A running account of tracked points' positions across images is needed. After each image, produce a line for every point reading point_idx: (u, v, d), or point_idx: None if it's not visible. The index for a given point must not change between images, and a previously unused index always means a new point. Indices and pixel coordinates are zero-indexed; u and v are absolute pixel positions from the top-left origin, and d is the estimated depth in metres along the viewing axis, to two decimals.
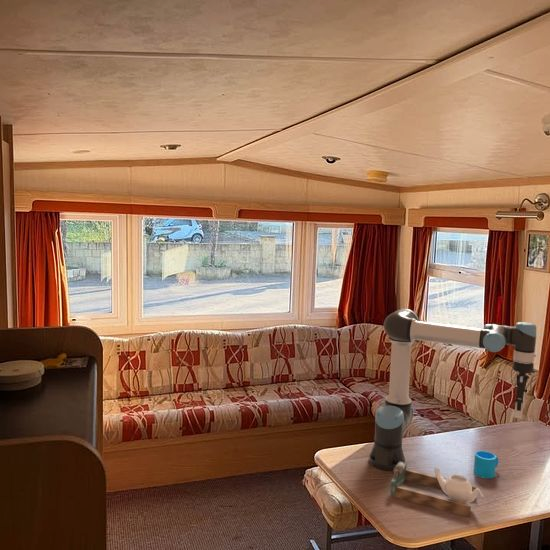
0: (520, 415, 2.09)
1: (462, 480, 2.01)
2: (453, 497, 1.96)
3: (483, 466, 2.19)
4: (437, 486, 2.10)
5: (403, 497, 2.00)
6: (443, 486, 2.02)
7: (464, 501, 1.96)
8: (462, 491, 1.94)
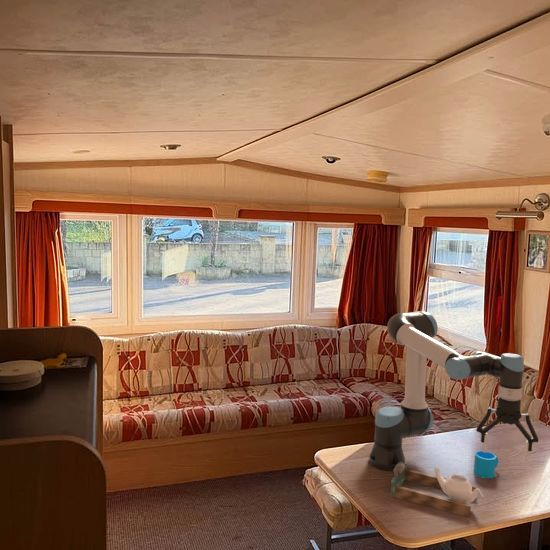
0: None
1: (462, 480, 2.01)
2: (453, 497, 1.96)
3: (483, 466, 2.19)
4: (437, 486, 2.10)
5: (403, 497, 2.00)
6: (443, 486, 2.02)
7: (464, 501, 1.96)
8: (462, 491, 1.94)
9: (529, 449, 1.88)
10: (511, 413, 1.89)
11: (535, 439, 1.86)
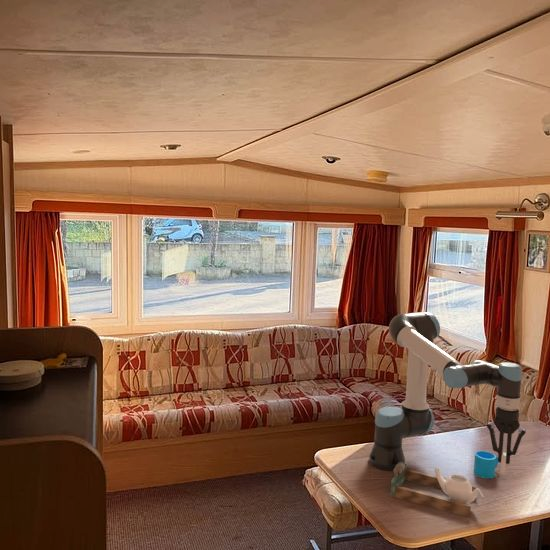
0: None
1: (462, 480, 2.01)
2: (453, 497, 1.96)
3: (483, 466, 2.19)
4: (437, 486, 2.10)
5: (403, 497, 2.00)
6: (443, 486, 2.02)
7: (464, 501, 1.96)
8: (462, 491, 1.94)
9: (507, 462, 1.89)
10: None
11: (513, 452, 1.88)
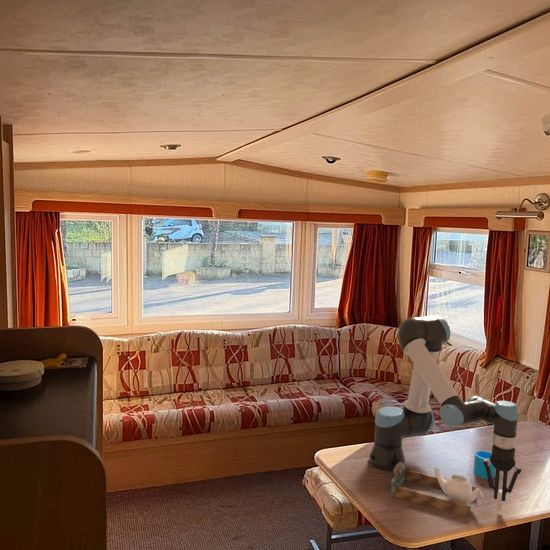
0: None
1: (462, 480, 2.01)
2: (453, 497, 1.96)
3: (483, 466, 2.19)
4: (437, 486, 2.10)
5: (403, 497, 2.00)
6: (443, 486, 2.02)
7: (464, 501, 1.96)
8: (462, 491, 1.94)
9: (503, 499, 1.91)
10: None
11: (509, 489, 1.89)
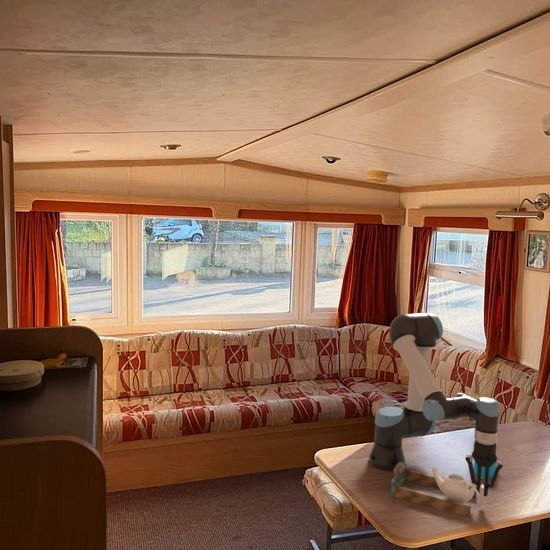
0: (479, 500, 1.95)
1: (459, 479, 2.02)
2: (450, 496, 1.97)
3: (483, 466, 2.19)
4: (437, 486, 2.10)
5: (403, 497, 2.00)
6: (440, 485, 2.02)
7: (461, 500, 1.96)
8: (458, 489, 1.95)
9: (485, 494, 1.94)
10: None
11: (491, 485, 1.92)
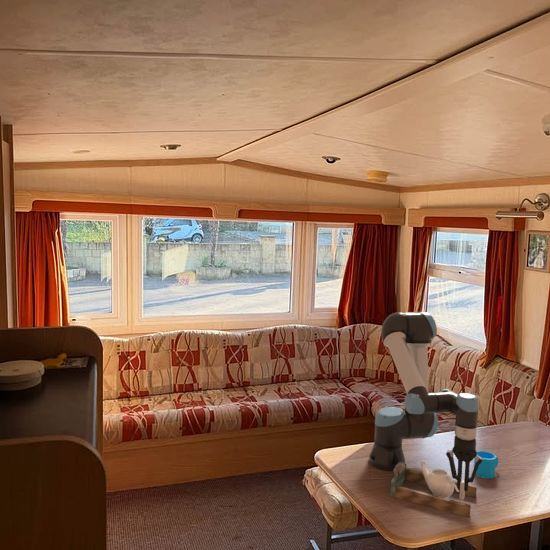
0: None
1: (445, 475, 2.05)
2: (432, 490, 2.01)
3: (483, 466, 2.19)
4: None
5: (403, 497, 2.00)
6: None
7: (442, 494, 2.00)
8: (439, 484, 1.99)
9: (465, 489, 1.97)
10: None
11: (471, 479, 1.95)
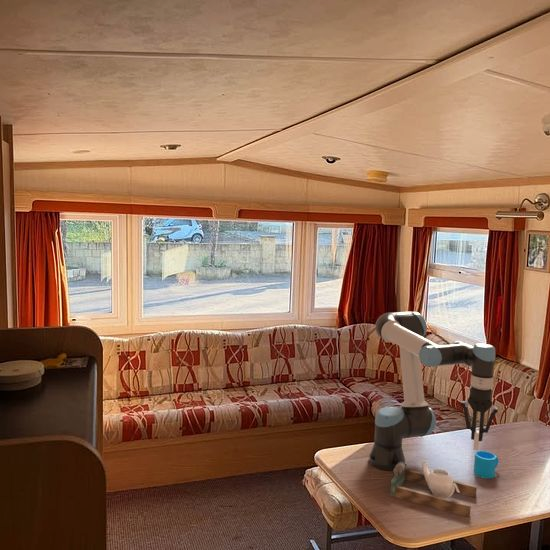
0: None
1: (446, 475, 2.05)
2: (432, 490, 2.01)
3: (483, 466, 2.19)
4: None
5: (403, 497, 2.00)
6: (427, 479, 2.07)
7: (442, 495, 2.00)
8: (439, 484, 1.99)
9: (479, 439, 1.96)
10: None
11: (486, 430, 1.94)
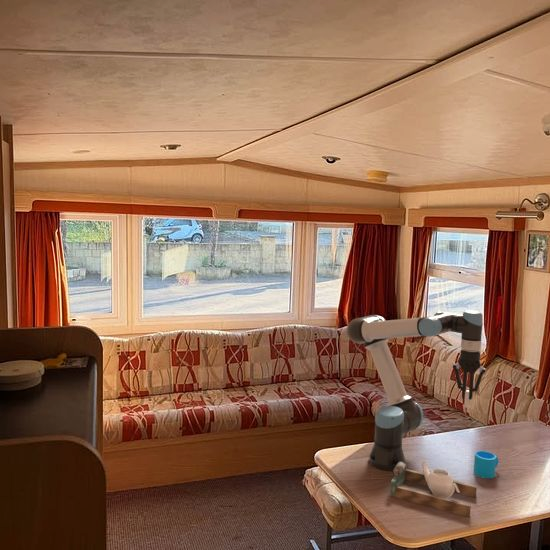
0: None
1: (446, 475, 2.05)
2: (432, 490, 2.01)
3: (483, 466, 2.19)
4: None
5: (403, 497, 2.00)
6: (427, 479, 2.07)
7: (442, 495, 2.00)
8: (439, 484, 1.99)
9: (470, 397, 2.16)
10: (474, 360, 2.14)
11: (475, 388, 2.14)
